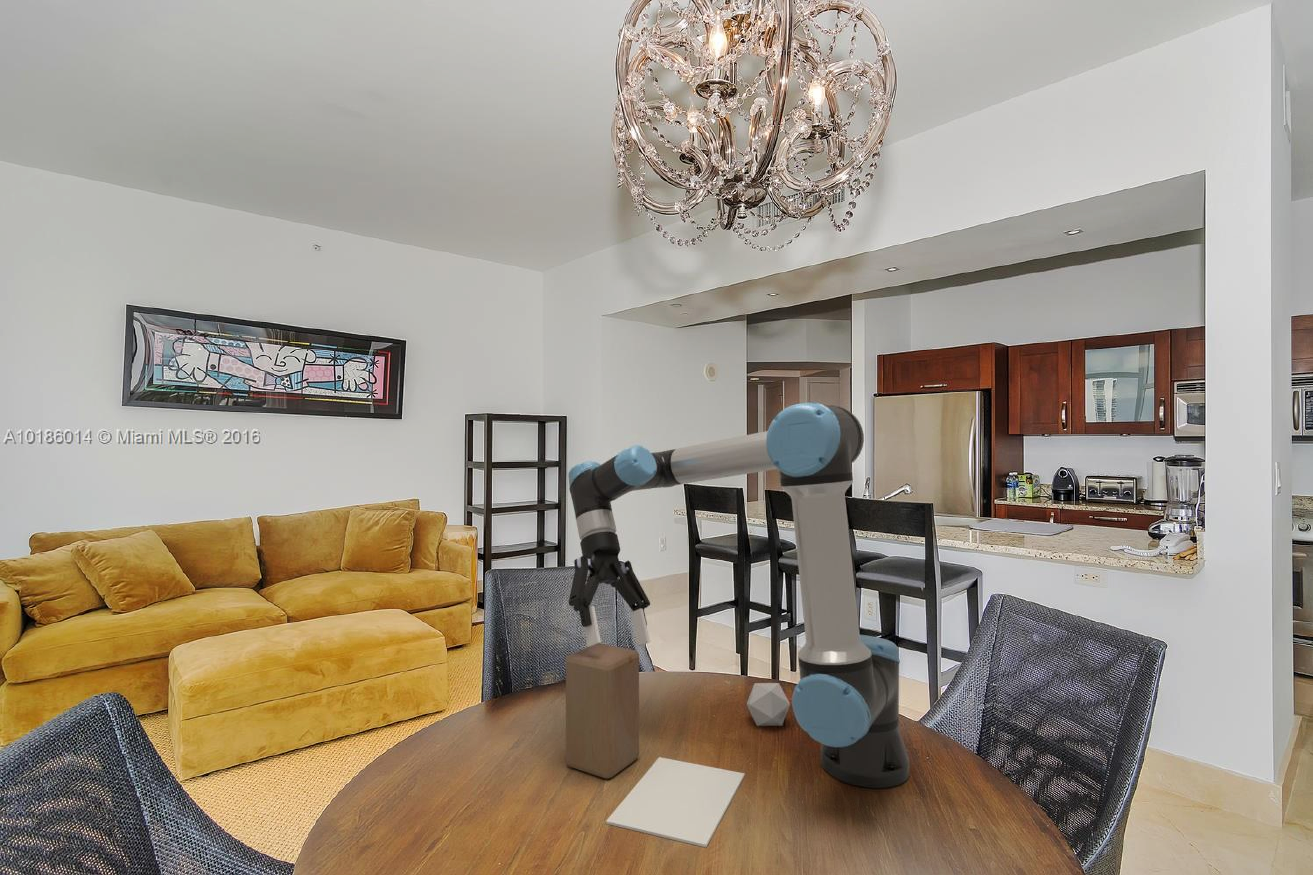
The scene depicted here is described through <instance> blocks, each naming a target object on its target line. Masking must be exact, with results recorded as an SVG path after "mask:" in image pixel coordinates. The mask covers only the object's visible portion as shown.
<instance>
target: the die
mask: <svg viewBox="0 0 1313 875" xmlns="http://www.w3.org/2000/svg"><path fill="white" fill-rule="evenodd" d="M746 706H747V709H748V710H749V712H750V714H751V717H752V718H753V721H754V722H755V725H756V727H769V726H770V727H781V726H783V724H784V721H785V718H786V716H787V714H788V711H789V708H790V706H791V702H790V701H789V699H788V698H787V696H786V693H785V692H784V689H783V688H782V687H781V684H780V683H779V682H766V683H765V682H761V683H760V682H758V683H757V682H755V683H753V687H752V689H751V691H750V694H749V698H748V699H747V702H746Z"/></svg>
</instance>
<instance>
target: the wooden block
mask: <svg viewBox="0 0 1313 875" xmlns="http://www.w3.org/2000/svg"><path fill="white" fill-rule="evenodd" d="M639 754H640V654H639V652H638V651H637V650H634V649H629V648H624V647H619V646H614V645H610V644H605V643H602V642H601V643H599V644H596V645H594V646H592V647H587V646H586V647H585V648H583V649H581V650H578V651H576V652H573V653H571V654H568V655H567V657H566V660H565V762H566V765H567V766H568V767H569V768H573V769H576V770H579V771H581V772H585V773H588V774H591V775H594V776H597V777H600V778H603V779H610V778H611V779H612V778H613V777H614V776H616V775H617V774H618V773H619V772H621V771H622V770H624V769H626V767H628V766H629V765H631V764H632V763H633V762H635V761H636V760H638V758H639Z"/></svg>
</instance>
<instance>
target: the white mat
mask: <svg viewBox="0 0 1313 875" xmlns="http://www.w3.org/2000/svg"><path fill="white" fill-rule="evenodd" d="M744 778H745V772H740V771H739V772H738V771H733V770H727V769H724V768H718V767H713V766H708V765H703V764H696V763H691V762H687V761H682V760H676V759H673V758H672V759H671V758H666V757H661V756H659V757H658V758H657V759H656V760H655V762H654V763H653V764H652V765H651V766H650V768H649V769H648V770H647V771H646V773H645V774H644V775H643V776H642V777H641V778H640V780H638V782H637V784H635V785H634V787H633V788H632V789H631V791H630V792H629V793H628V794H627V795H626V796H625V798H624V799H623V800H622V802H620V803H619V805H618V806H617V807H616V808H615V809H614V811H613V812H612V813H611V815H610V816H609V817H608V818H607V819H606V820H605V824H606V825H609V826H615V827H620V828H623V829H627V830H631V831H636V832H639V833H644V834H647V835H651V836H656V837H660V838H664V839H669V840H673V841H677V842H680V843H685V844H690V845H694V846H698V847H702V848H707V847H708V846H709V844H710V842H711V840H712V838H713V836H714V834H715V832H716V831H717V829H718V826H719V825H720V823H721V821H722V819H723V817H724V815H725V814H726V812H727V809H728V808H729V806H730V805H731V803H732V800H733V799H734V797H735V795H736V793H737V791H738V789H739V787H740V786H741V785H742V784H741V783H742V781H743V780H744Z"/></svg>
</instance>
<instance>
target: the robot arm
mask: <svg viewBox="0 0 1313 875" xmlns="http://www.w3.org/2000/svg"><path fill="white" fill-rule="evenodd" d="M864 441H865V434H864V430H863V426H862V424H861V423H860V421H859V419H858V418H857V417H856V415H855V414H853V413H852V412H851V411H849V410H847V409H846V408H844V407H841V406H838V405H830V404H829V405H828V404H822V403H819V402H814V401H813V402H802V403H796V404H793V405H788V407H785V408H784V409H782V410H781V411H780V412H778V413H777V415H775V417H774V418H773V419H772V421H771V423H770V425H769V426H768V430H766V431H762V432H755V433H751V434H746V435H740V436H735V437H730V438H725V439H721V440H720V439H719V440H716V441H715V440H714V441H710V442H705V443H699V444H694V445H689V446H685V447H680V448H674V449H673V448H672V449H670V450H669V449H667V450H664V451H657V452H656V451H655V452H651V451H650V450H649V449H648V448H645V447H643V445H639V444H636V445H633V446H630V447H629V448H626V449H623V450H621V451H620V452H618V454H616V455H615V456H613V457H611V458H609V459H608V460H607V461H605V462H603V463H599V462H597V461H592V460H591V461H585V462H582V463H578V464H576V465H574V466H572V467H571V469H570V470H569V472H568V484H569V485H568V486H569V488H568V490H569V493H570V496H571V501H572V502H571V503H572V505H573V511H574V515H575V522H576V526H577V532H578V536H579V540H580V542H579V543H580V549H581V554H582V555H581V556H579V557H577V558H576V559H574V561H573V562H574V564H573V565H574V573H573V578H572V585H571V589H570V594H569V598H568V605H569V606H570V607H572V608H573V610H574V611H575V612H577V613H578V612H579V617H580V623H581V626H582V627H583V629H584V636H585V640H586V645H587V646H586V648H587V647H592V646H594V645H596V644H599V643H601V644H602V641H601V636H600V630H599V625H598V619H597V614H596V609H595V606H594V605H593V606H591V604H592V601H593V600H594V598H595V594H596V592H597V590H598V588H599V585H600V584H605V585H610V586H611V587H612V588H614V589H616V591H617V592H618V594H619V595H620V596H621V598H622V599H623V600H624V601H625V603H626V604H627V605H628V606H629V608H630V609H631V611H632V612H630V613H629V614H630V618H631V623H632V628H633V633H634V637H635V638H634V639H635V642H636V643H635V644H636V646H637V647H641V646H643V645H646V644H649V643H651V640H650V636H649V631H648V630H649V629H648V626H647V625H648V621H647V617H646V614H645V613H646V612H645V609H647V608H648V607H649V606H651V602H650V599H649V598H648V595H647V594H646V593H645V590H644V588H643V586H642V585H641V583H640V581H639V579H638V578H637V577H638V576H636V574H635V572H634V570H633V566H632V563H631V561H630V560H626V561H625V562H621V561H620V559H619V554H620V552H621V547H620V541H619V536H618V534H617V526H616V522H615V518H614V513H613V509H612V508H613V507H612V504H611V503H612V502H613V501H615V500H617V499H619V498H620V497H622V496H624V495H626V494H628V493H630V492H633V491H641V490H649V489H651V490H652V489H659V488H672V487H675V486H679V485H684V484H690V483H696V482H703V481H710V480H714V479H715V480H716V479H722V478H729V477H735V476H743V475H748V474H753V473H755V474H756V473H760V472H767V471H773V470H778V471H779V481H780V488H781V489H782V490H783V492H785V493H786V494H788V495H789V497H790V499H791V505H792V507H791V508H792V516H793V518H792V519H793V526H794V536H795V537H794V538H795V543H796V545H795V548H796V556H797V564H798V575H799V585H800V595H801V604H802V605H801V606H802V616H803V626H804V633H805V634H804V636H805V643H804V645H803V646H802V648H800V649H799V651H798V652H797V659H798V671H799V680H798V682H797V684H796V685H795V687H794V690H793V693H792V697H791V698H792V699H791V704H792V705H791V706H792V711H793V714H794V717H795V719H796V722H797V723H798V725H799V727H801V729H802V730H803V731H804V732H806V733H807V734H808V735H809V737H810V738H812V740H814V741H816V742H818V743H820V744H821V746H820V765H821V767H822V768H823V770H824V771H825V772H826V773H827V774H829V775H830V776H831V777H833V778H835V779H837V780H839V781H840V782H844V783H846V784H849V785H853V786H857V787H863V788H868V789H869V788H871V789H885V788H886V789H887V788H892V787H897V786H900V785H902V784H903V783H905V782H906V781H907V780H908V779H909V777H910V759H909V758H910V757H909V756H908V753H907V750H906V747H905V746H906V745H905V743H904V740H903V737H902V733H901V731H900V728H899V727H900V726H899V723H900V722H899V719H900V718H899V716H900V715H899V712H900V709H899V708H900V706H899V704H900V701H899V700H900V699H899V698H900V691H899V690H900V683H899V682H900V663H901V660H900V657H899V656H900V654H899V648H898V646H897V644H895V643H894V642H893V641H891V640H888V639H885V638H881V637H877V636H873V635H864V634H860V627H859V618H858V607H857V599H856V598H857V597H856V588H855V587H856V586H855V581H854V579H855V578H854V571H853V569H854V568H853V562H852V561H853V559H852V550H851V540H850V532H849V522H848V514H847V503H846V495H845V494H846V491H847V490H848V489H849V488H850V486H852V484H853V482H854V477H853V470H852V469H853V468H852V467H853V466H852V464H853V463H854V462H855V461H856V460H857V459H858V457H860V455H861V452H862V450H863V448H864Z"/></svg>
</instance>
